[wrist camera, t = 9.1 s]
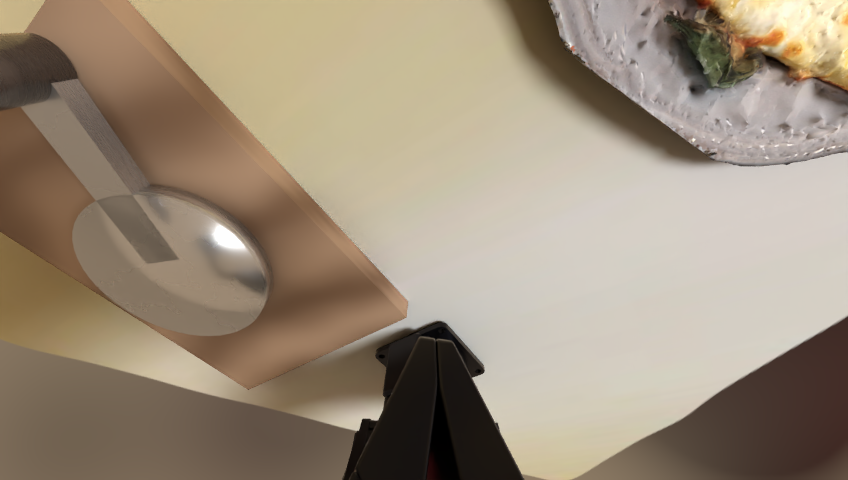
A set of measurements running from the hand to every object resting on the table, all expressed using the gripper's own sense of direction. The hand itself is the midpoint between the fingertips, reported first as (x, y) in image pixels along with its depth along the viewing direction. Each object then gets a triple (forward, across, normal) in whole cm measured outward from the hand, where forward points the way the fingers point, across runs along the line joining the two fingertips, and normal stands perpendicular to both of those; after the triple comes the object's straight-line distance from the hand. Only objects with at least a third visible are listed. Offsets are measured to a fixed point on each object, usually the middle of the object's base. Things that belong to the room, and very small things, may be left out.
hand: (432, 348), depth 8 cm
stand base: (+12, +13, +7) cm, 19 cm away
